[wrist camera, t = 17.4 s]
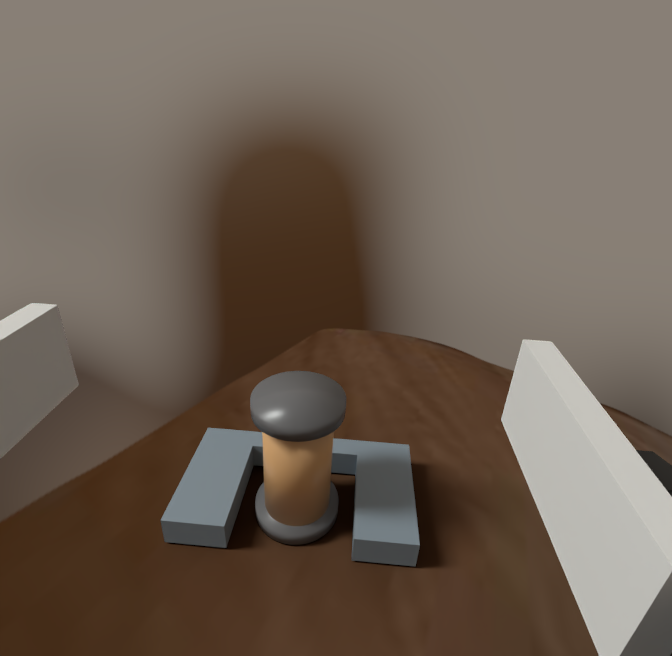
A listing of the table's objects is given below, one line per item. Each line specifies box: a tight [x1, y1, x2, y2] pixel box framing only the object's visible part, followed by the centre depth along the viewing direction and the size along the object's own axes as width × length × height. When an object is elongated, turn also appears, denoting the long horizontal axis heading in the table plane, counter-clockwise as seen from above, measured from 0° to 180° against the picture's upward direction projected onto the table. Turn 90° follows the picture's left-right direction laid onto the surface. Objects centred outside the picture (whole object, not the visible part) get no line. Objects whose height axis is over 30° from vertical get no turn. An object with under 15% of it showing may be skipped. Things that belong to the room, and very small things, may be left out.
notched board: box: [161, 428, 420, 567], centre depth 39 cm, size 20×11×2 cm, turn 86°
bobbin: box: [250, 371, 346, 545], centre depth 36 cm, size 7×7×12 cm
